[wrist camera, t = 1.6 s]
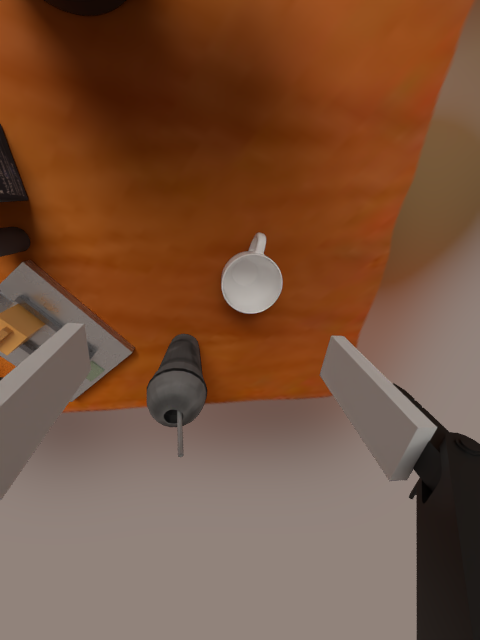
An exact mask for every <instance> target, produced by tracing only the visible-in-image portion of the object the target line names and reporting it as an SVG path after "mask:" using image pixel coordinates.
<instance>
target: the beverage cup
mask: <svg viewBox="0 0 480 640" xmlns="http://www.w3.org/2000/svg"><path fill="white" fill-rule="evenodd" d="M206 396H207V387H206V384H205V382H204V379H203V375H202V367H201V358H200V350H199V345H198V341H197V340H196V339H195V338H194V337H193V336H191V335H188V334H181V335H178V336H176V337H175V338H174V339H173V340H172V342H171V343H170V345H169V347H168V349H167V352H166V354H165V356H164V358H163V360H162V363H161V365H160V367H159V369H158V371H157V372H156V373H155V375H154V376H153V378H152V379H151V380H150V382H149V384H148V386H147V406H148V409H149V411H150V414H151V415H152V417H153V418H154V419H155V420H156V421H157V422H159V423H161V424H162V425H164V426H168V427H177V429H178V430H177V431H178V456H179V457H182V456H183V432H182V426H184V425H186V424H188V423H190V422H192V421H193V420H194V419H195V418H196V417H197V416H198V415H199V413H200V411H201V410H202V408H203V406H204V403H205V399H206Z"/></svg>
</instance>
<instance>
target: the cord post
mask: <svg viewBox="0 0 480 640" xmlns="http://www.w3.org/2000/svg"><path fill="white" fill-rule="evenodd" d="M29 246H30V239H29V237H28V235H27V234H26V233H25V232H24V231H23V230H22V229H20V228H17V227H6V228H0V257H1V256H5V255H9V254H13V253H18V252H22V251H25V250H27V249H28V248H29Z"/></svg>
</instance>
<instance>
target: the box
mask: <svg viewBox="0 0 480 640" xmlns="http://www.w3.org/2000/svg"><path fill="white" fill-rule="evenodd" d="M27 200H28V197H27V195H26V192H25V190H24V187H23V184H22V181H21V179H20V176H19V174H18V171H17V168H16V166H15V163H14V160H13V158H12V155H11V152H10V149H9V146H8V144H7V141H6V138H5V136H4V133H3V130H2V127H1V124H0V202H10V201H27Z"/></svg>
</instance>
